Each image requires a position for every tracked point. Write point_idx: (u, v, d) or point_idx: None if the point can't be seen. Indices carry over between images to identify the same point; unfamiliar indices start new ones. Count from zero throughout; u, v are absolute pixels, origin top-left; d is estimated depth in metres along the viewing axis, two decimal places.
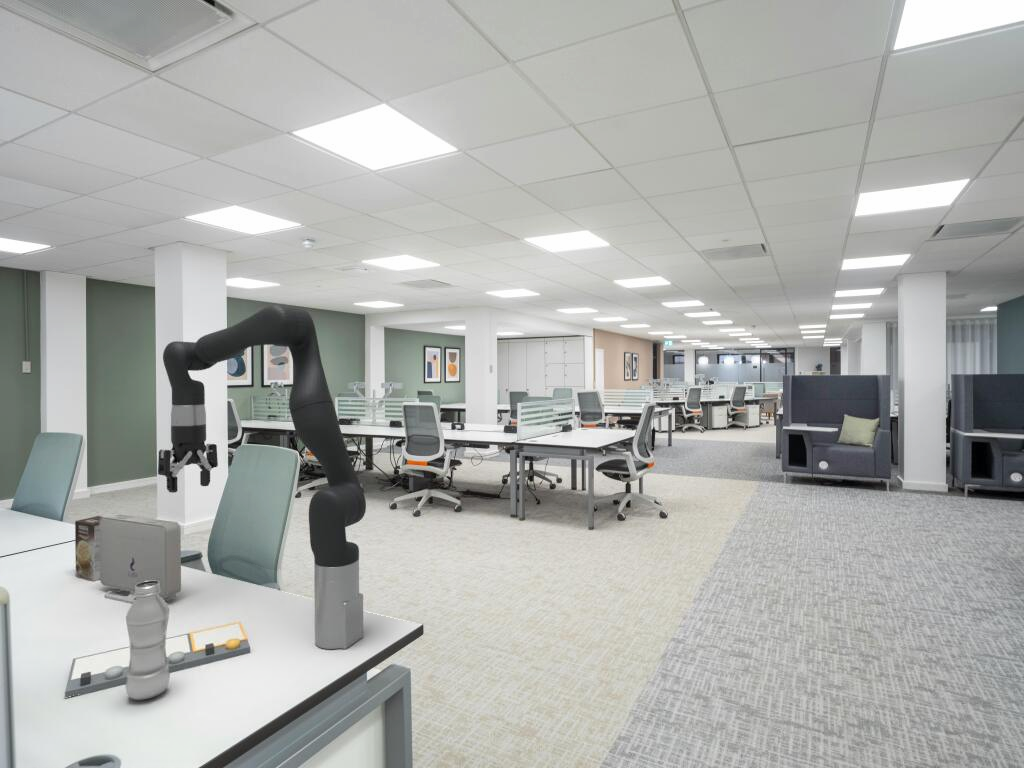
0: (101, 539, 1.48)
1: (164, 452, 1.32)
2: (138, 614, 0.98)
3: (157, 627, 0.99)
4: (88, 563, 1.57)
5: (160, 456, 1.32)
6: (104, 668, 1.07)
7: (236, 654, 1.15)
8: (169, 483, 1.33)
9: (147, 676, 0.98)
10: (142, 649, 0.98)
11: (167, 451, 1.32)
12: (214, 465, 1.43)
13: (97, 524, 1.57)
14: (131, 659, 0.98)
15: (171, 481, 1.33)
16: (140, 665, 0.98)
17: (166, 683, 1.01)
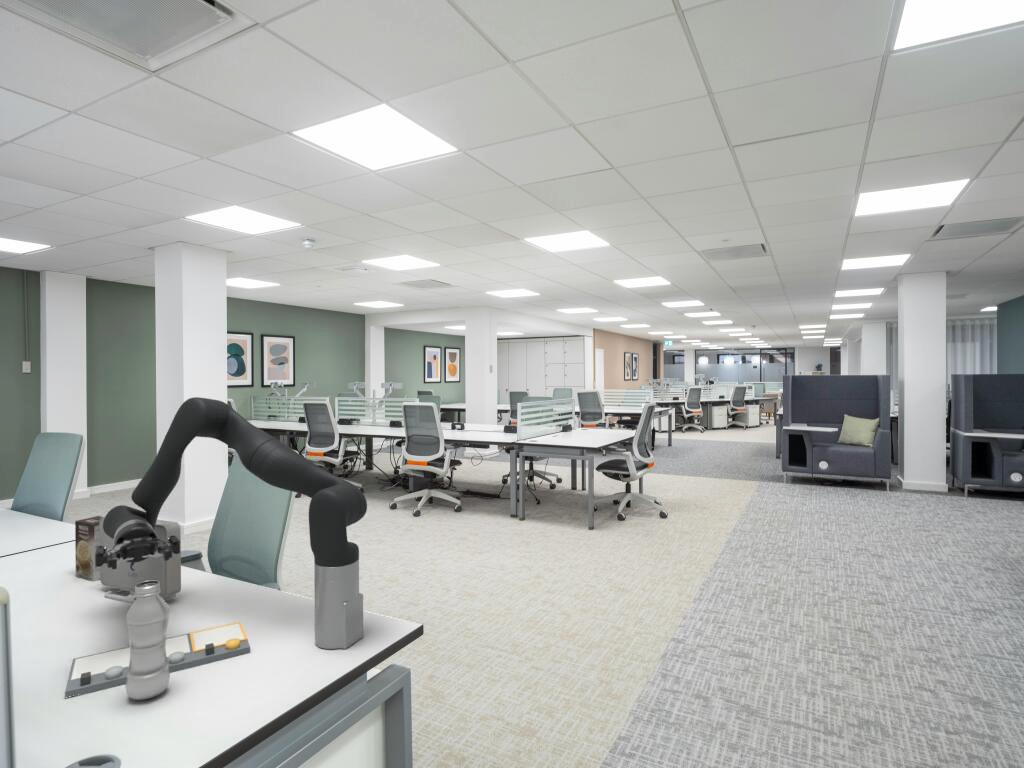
0: (101, 539, 1.48)
1: None
2: (138, 614, 0.98)
3: (157, 627, 0.99)
4: (88, 563, 1.57)
5: None
6: (104, 668, 1.07)
7: (236, 654, 1.15)
8: (107, 560, 1.08)
9: (147, 676, 0.98)
10: (142, 649, 0.98)
11: (99, 546, 1.13)
12: (174, 541, 1.17)
13: (97, 524, 1.57)
14: (131, 659, 0.98)
15: (108, 557, 1.08)
16: (140, 665, 0.98)
17: (166, 683, 1.01)
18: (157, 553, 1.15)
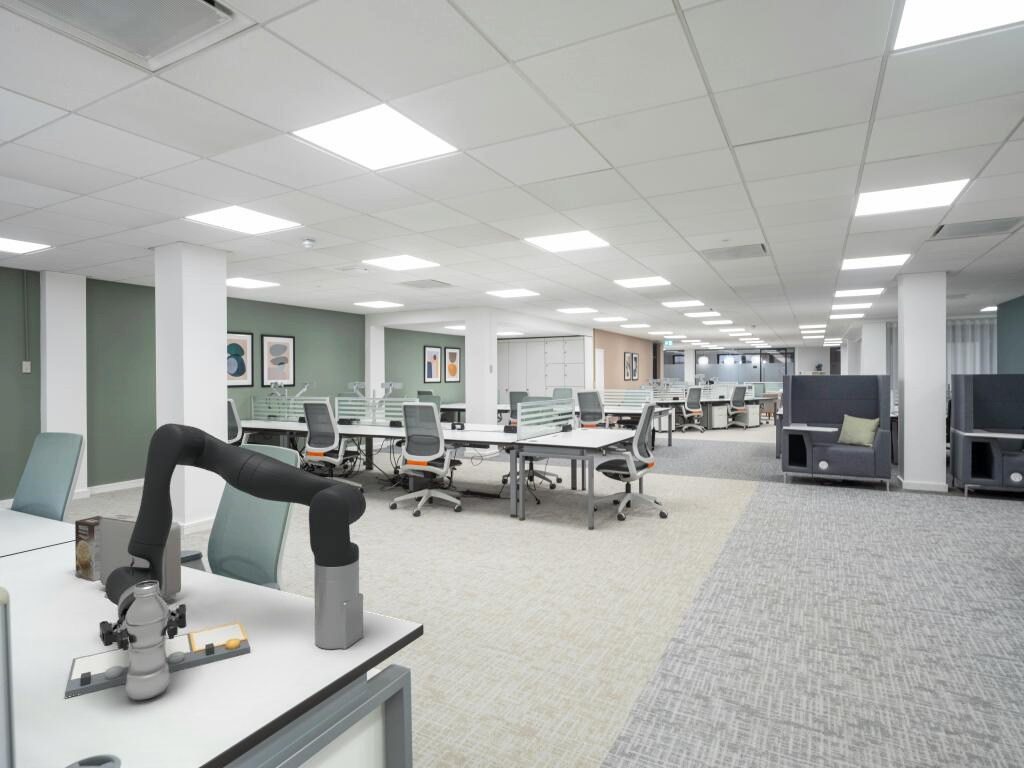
0: (101, 539, 1.48)
1: None
2: (138, 614, 0.97)
3: (156, 627, 0.99)
4: (88, 563, 1.57)
5: (100, 634, 1.01)
6: (104, 668, 1.07)
7: (236, 654, 1.15)
8: (117, 640, 0.97)
9: (147, 676, 0.98)
10: (141, 649, 0.98)
11: (101, 622, 1.02)
12: (180, 615, 1.05)
13: (97, 524, 1.57)
14: (131, 659, 0.98)
15: (118, 636, 0.98)
16: (139, 665, 0.98)
17: (166, 683, 1.01)
18: None
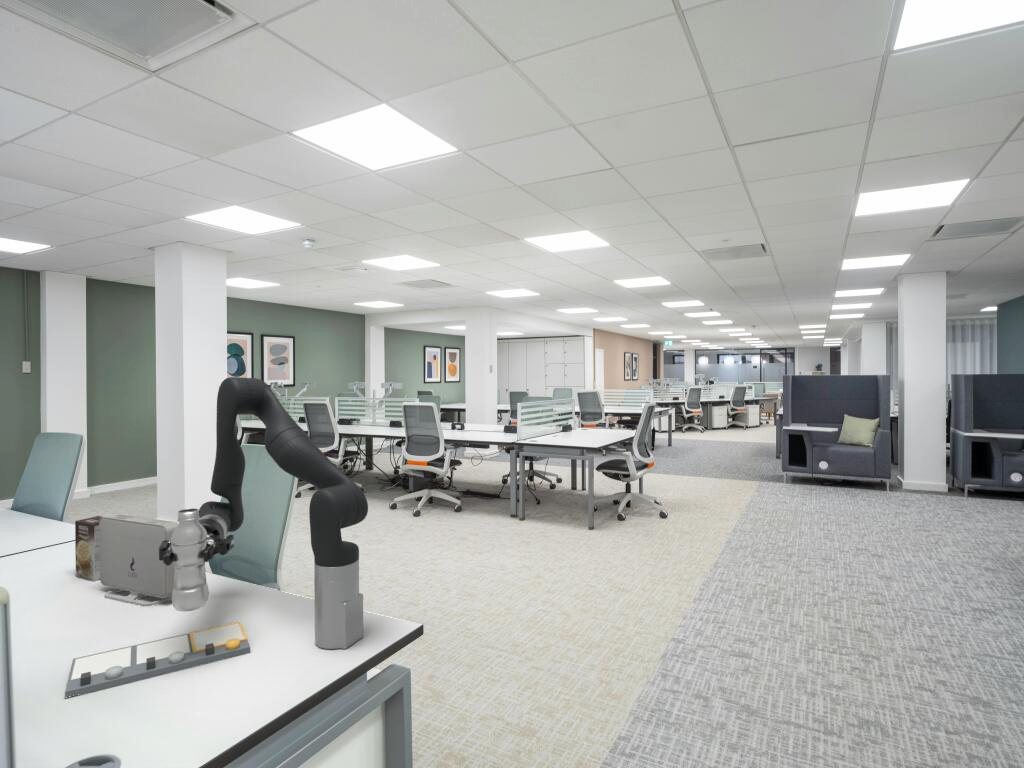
0: (101, 539, 1.48)
1: None
2: (177, 535, 1.10)
3: (192, 549, 1.11)
4: (88, 563, 1.57)
5: None
6: (104, 668, 1.07)
7: (236, 654, 1.15)
8: None
9: (184, 591, 1.10)
10: (180, 567, 1.11)
11: None
12: (221, 542, 1.17)
13: (97, 524, 1.57)
14: None
15: (166, 553, 1.12)
16: (179, 580, 1.11)
17: (202, 600, 1.12)
18: None
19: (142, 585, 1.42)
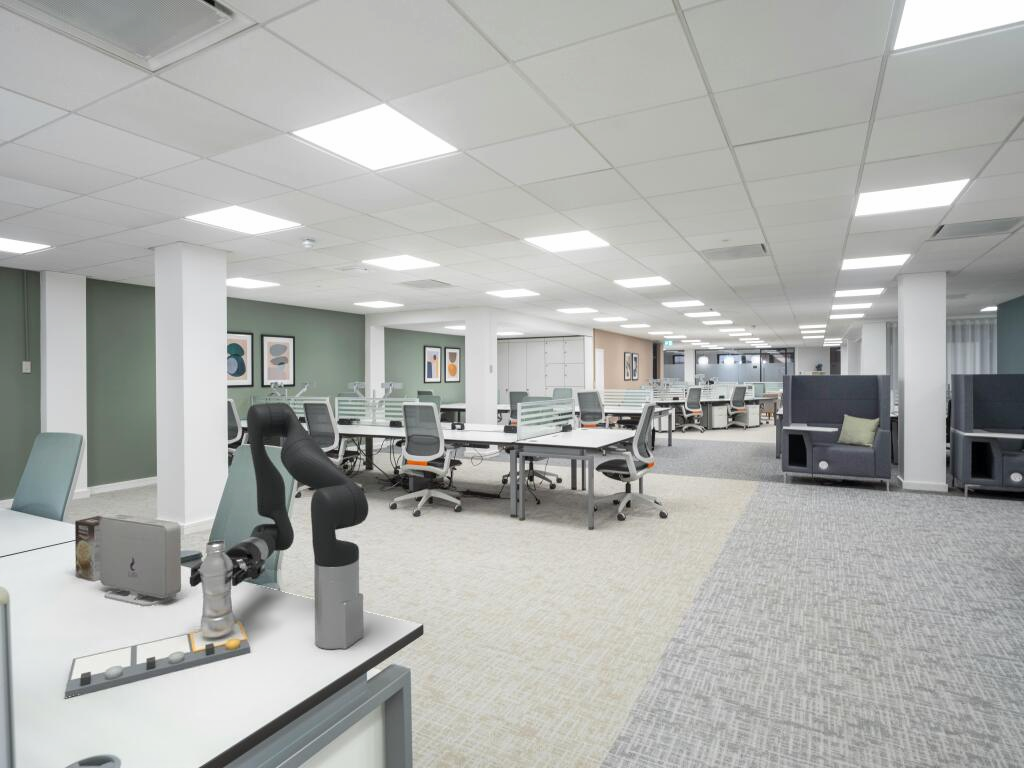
0: (101, 539, 1.48)
1: None
2: (204, 566, 1.18)
3: (215, 580, 1.17)
4: (88, 563, 1.57)
5: None
6: (104, 668, 1.07)
7: (236, 654, 1.15)
8: None
9: (209, 619, 1.18)
10: (206, 596, 1.18)
11: None
12: (252, 567, 1.23)
13: (97, 524, 1.57)
14: (203, 602, 1.19)
15: (195, 574, 1.21)
16: (205, 608, 1.18)
17: (226, 629, 1.19)
18: None
19: (142, 585, 1.42)
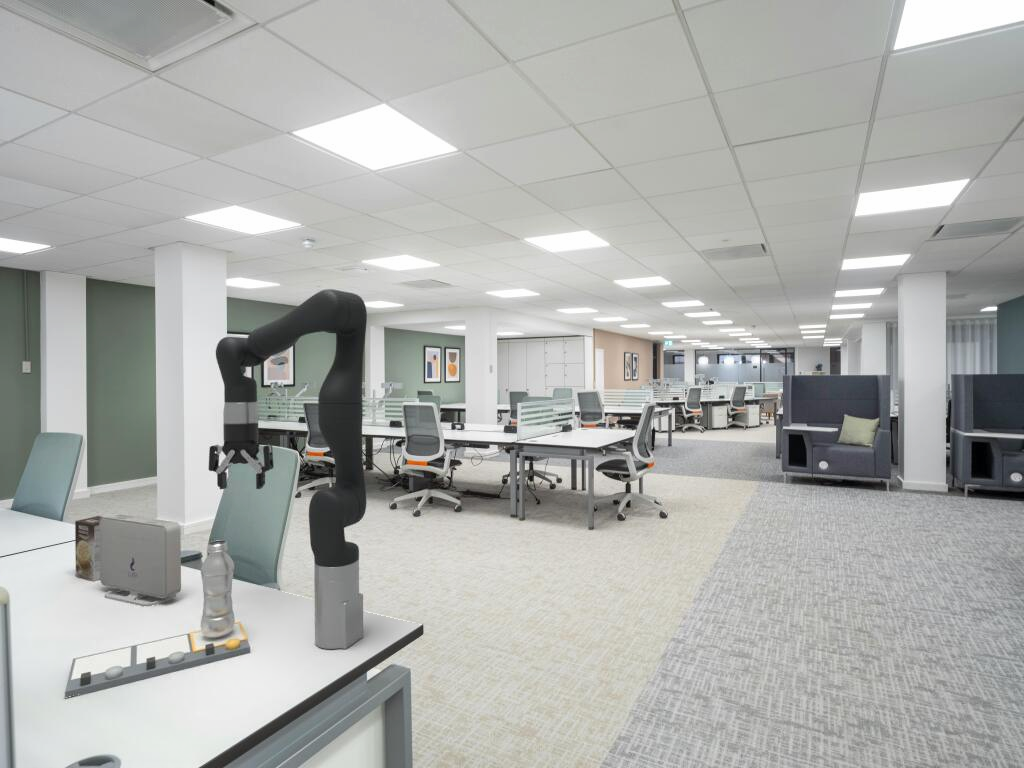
0: (101, 539, 1.48)
1: None
2: (205, 566, 1.18)
3: (216, 580, 1.18)
4: (88, 563, 1.57)
5: None
6: (104, 668, 1.07)
7: (236, 654, 1.15)
8: None
9: (209, 619, 1.18)
10: (207, 595, 1.18)
11: (211, 447, 1.33)
12: (265, 468, 1.33)
13: (97, 524, 1.57)
14: None
15: (218, 477, 1.34)
16: (206, 608, 1.18)
17: (226, 629, 1.19)
18: None
19: (142, 585, 1.42)
